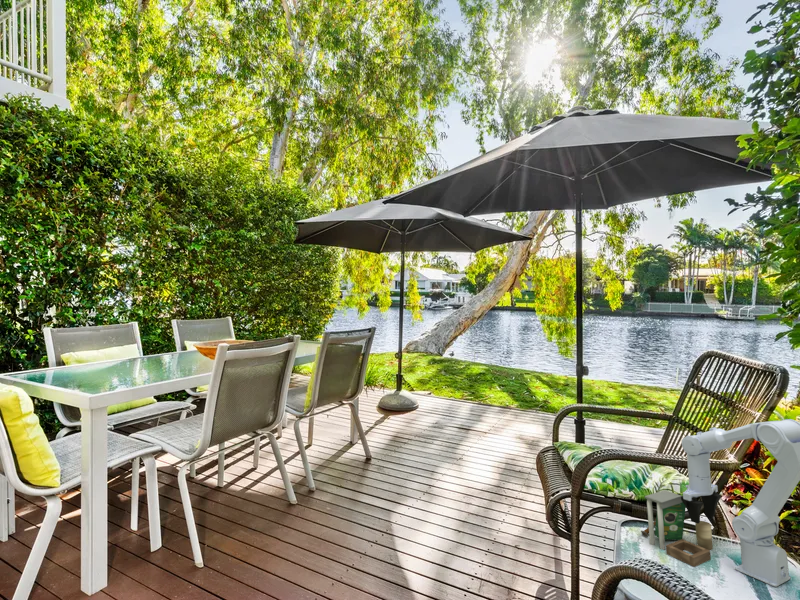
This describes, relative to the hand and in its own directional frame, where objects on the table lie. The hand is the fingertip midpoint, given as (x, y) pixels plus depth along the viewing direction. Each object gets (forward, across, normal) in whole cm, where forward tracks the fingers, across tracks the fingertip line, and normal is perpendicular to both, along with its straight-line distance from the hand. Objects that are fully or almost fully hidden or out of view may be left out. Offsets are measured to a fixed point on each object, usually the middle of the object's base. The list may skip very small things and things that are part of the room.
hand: (702, 519), depth 132 cm
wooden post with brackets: (+9, +6, -13) cm, 17 cm away
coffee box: (+8, +5, -8) cm, 12 cm away
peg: (+8, 0, 0) cm, 8 cm away
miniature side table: (+8, +8, -7) cm, 13 cm away
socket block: (+8, +10, +1) cm, 13 cm away
